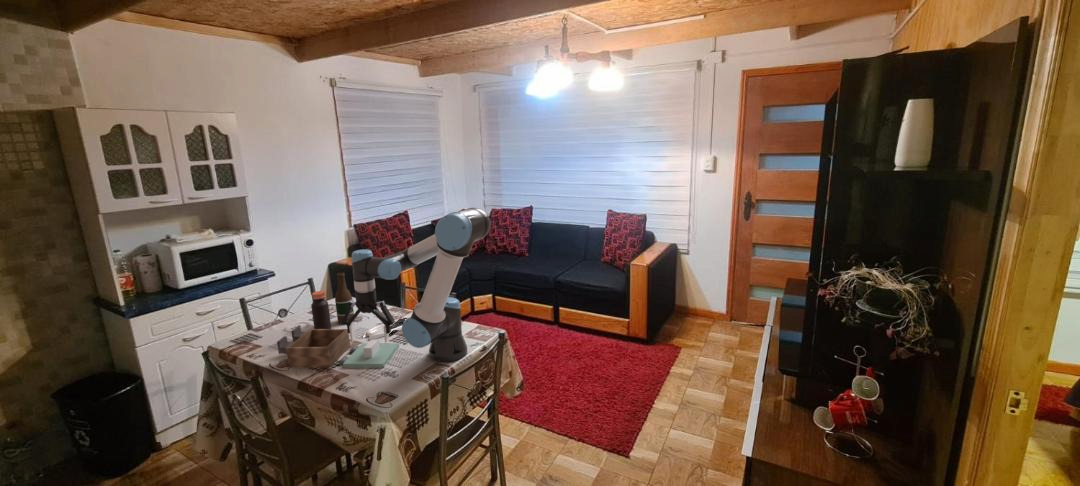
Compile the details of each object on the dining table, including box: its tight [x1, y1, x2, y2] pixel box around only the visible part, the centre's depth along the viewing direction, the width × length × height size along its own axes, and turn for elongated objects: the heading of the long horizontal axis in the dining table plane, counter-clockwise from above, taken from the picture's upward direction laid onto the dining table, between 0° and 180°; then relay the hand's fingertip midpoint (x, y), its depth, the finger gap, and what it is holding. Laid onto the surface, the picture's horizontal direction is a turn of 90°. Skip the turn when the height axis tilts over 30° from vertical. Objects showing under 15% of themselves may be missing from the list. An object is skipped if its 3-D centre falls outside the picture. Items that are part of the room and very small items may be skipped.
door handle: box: [362, 316, 411, 341], centre depth 213 cm, size 3×10×25 cm
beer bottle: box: [334, 272, 355, 325], centre depth 221 cm, size 8×8×24 cm
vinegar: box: [310, 290, 332, 329], centre depth 206 cm, size 7×7×20 cm
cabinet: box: [276, 325, 351, 369], centre depth 187 cm, size 20×18×10 cm
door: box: [338, 338, 400, 369], centre depth 187 cm, size 18×18×6 cm
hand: (370, 340), depth 186 cm, fingers open, 13 cm apart
